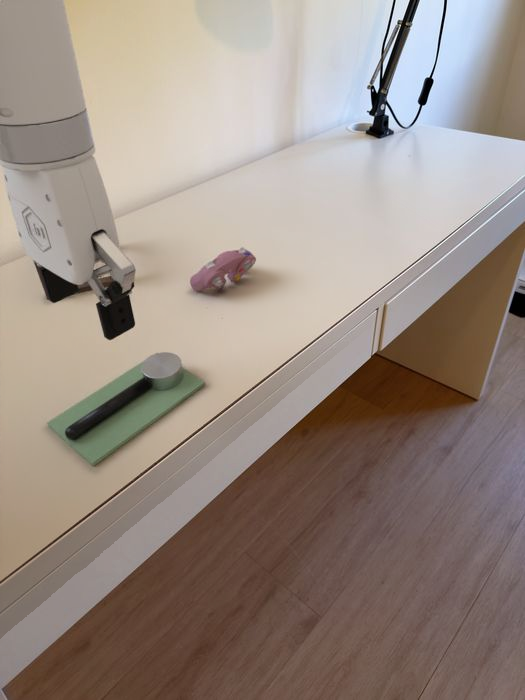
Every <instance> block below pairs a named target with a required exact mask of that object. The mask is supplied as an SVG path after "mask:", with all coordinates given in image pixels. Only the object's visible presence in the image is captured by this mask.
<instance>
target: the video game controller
mask: <svg viewBox="0 0 525 700" xmlns="http://www.w3.org/2000/svg"><path fill="white" fill-rule="evenodd" d="M256 262H257V257H256V256H255V255H254V254H253V253H252V252H251V251H250V250H248V249H245V248H244V247H243V246H242V247H240V248H239V249H237V250H236V249H235V250H234V249H233V250H227V251H223V252H221V253H220V254H218V255H217V256H216V257H215V258H214V259H213V260H211V261H209V262H207V263H206V264H205V265H203V266H202V267H201V268H200V270H199V271H197V272H196V273H195V274H192V276H191V277H190V278H189V279H190V280H189V284H190V287H191V288H192V289H193V290H194V291H196V292H203V291H205V290H207V289H213V290H214V291H219V290H221V289H222V288H224V286H226V284H227V279H228V280H229V281H230V282H231V283H235V282H238V281H239V280H240V279H241V278H242V277H243V275H245V273H246V272H247V271H249V270H250V269H252V267H253V266H254V265H255V264H256ZM225 277H227V279H226V278H225Z"/></svg>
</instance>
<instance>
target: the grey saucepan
mask: <svg viewBox="0 0 525 700" xmlns="http://www.w3.org/2000/svg"><path fill="white" fill-rule="evenodd" d="M156 353H157V354H156ZM156 353H154V354H152V355H150V356H148V357H147V358H145V359H144V360H143V361H144V362H143V361H142V362H143V363H142V366H141V370H142V374H143V378H141V379H140V380H138V381H137V382H135V383H134V384H132V385H131V386H129V387H128V388H126V389H125V390H123V391H122V392H120V393H119V394H117V395H116V396H114V397H113V398H111V399H110V400H108V401H107V402H105V403H104V404H102V405H101V406H99V407H97V408H96V409H94V410H93V411H91V412H90V413H88V414H87V415H85V416H84V417H82V418H81V419H79V420H78V421H76V422H75V423H73V424H72V425H70V426H69V427H67V429H66V430H65V436H66V437H67V438H68V439H69V440H76V439H77V438H79V437H80V436H82V435H83V434H85V433H86V432H88V431H89V430H91V429H92V428H94V427H95V426H97V425H98V424H99V423H101V422H102V421H104V420H105V419H107V418H108V417H110V416H111V415H113V414H114V413H116V412H117V411H119V410H120V409H121V408H123V407H124V406H126V405H127V404H129V403H130V402H132V401H133V400H135V399H136V398H138V397H139V396H141V395H142V394H143V393H145V392H146V391H148V390H149V389H153V390H159V391H161V390H168V389H171V388H173V387H175V386H177V385H178V384H179V383H180V382H181V381H182V379H183V376H184V374H183V369H184V368H183V364H182V360H181V357H180V356H178V355H177V354H175V353H173V352H168V351H167V352H166V351H165V352H164V351H163V352H156Z"/></svg>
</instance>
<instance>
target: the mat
mask: <svg viewBox="0 0 525 700" xmlns="http://www.w3.org/2000/svg"><path fill="white" fill-rule="evenodd" d="M157 353H158V352H155V354H157ZM144 361H145V360H143V361H141V362H140V363H139V364H137V365H135V366H133V367H132V368H131V369H129V370H127V371H125V372H124V373H123V374H120V375H119V376H118V377H116V378H115V379H113V380H112V381H110V382H109V383H107V384H105V385H104V386H102V387H101V388H99V389H97V390H95V392H93V393H91V394H89V395H88V396H87V397H85V398H84V399H82V400H80V401H79V402H77V403H75V404H74V405H72V406H71V407H69V408H68V409H65V410H64V411H63V412H61V413H60V414H58V415H57V416H55V417H53V418H51V419H50V420H49V421H47V422H46V424H47V426H48V427H49V428H50V429H51V430H52V431H53V432H54V433H55V434H57V436H59V437H60V438H61V439H62V440H63V441H65V442H66V444H68V445H69V446H70V447H71V448H72V449H73V450H74V451H76V453H78V454H79V455H80V456H81V457H82V458H83V459H84V460H85V461H87V462H88V463H89V464H90V465H91V466H92V467H95V466H96V465H97V464H99V463H100V462H101V461H103V460H105V458H107V457H109V456H110V455H112V453H114V452H116V450H118V449H120V448H121V447H122V446H123V445H125V444H126V443H128V442H129V441H131V440H132V439H134V437H136V436H138V435H139V434H140V433H142V432H143V431H144V430H146V429H147V428H148V427H149V426H151V425H153V424H154V423H155V422H156V421H158V420H159V419H161V418H162V417H164V416H165V415H166V414H167V413H169V412H170V411H172V410H173V409H174V408H176V407H177V406H178V405H180V404H181V403H182V402H184V401H186V399H188V398H190V397H191V396H192V395H193V394H195V393H196V392H198V391H199V390H200V389H202V388H203V387H205V385H206V382H205V381H204V380H202V379H201V378H199V377H197V376H196V375H195V374H192V373H191V372H189V371H188V370H186V369H184V368H183V374H184V376H183V379H182V381H181V382H180V383H179V384H178V385H177V386H175V387H173V388H171V389H168V390H161V391H159V390H153V389H149V390H148V391H146V392H145V393H143V394H142V395H141V396H139V397H138V398H136V399H135V400H133V401H132V402H130V403H129V404H127V405H126V406H124V407H123V408H121V409H120V410H119V411H117V412H116V413H114V414H113V415H111V416H110V417H108V418H107V419H105V420H104V421H102V422H101V423H99V424H98V425H97V426H95V427H94V428H92V429H91V430H89V431H88V432H86V433H85V434H83V435H82V436H80V437H79V438H77V439H76V440H69V439H68V438H67V437H66V436H65V430H66V429H67V427H69V426H70V425H72V424H73V423H75V422H76V421H78V420H79V419H81V418H82V417H84V416H85V415H87V414H88V413H90V412H91V411H93V410H94V409H96V408H97V407H99V406H101V405H102V404H104V403H105V402H107V401H108V400H110V399H111V398H113V397H114V396H116V395H117V394H119V393H120V392H122V391H123V390H125V389H126V388H128V387H129V386H131V385H132V384H134V383H135V382H137V381H138V380H140V379H141V378H143V374H142V370H141V366H142V363H143V362H144Z"/></svg>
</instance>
